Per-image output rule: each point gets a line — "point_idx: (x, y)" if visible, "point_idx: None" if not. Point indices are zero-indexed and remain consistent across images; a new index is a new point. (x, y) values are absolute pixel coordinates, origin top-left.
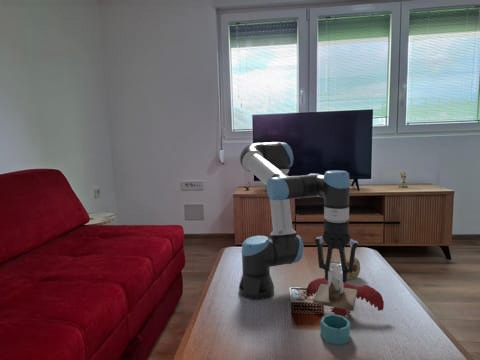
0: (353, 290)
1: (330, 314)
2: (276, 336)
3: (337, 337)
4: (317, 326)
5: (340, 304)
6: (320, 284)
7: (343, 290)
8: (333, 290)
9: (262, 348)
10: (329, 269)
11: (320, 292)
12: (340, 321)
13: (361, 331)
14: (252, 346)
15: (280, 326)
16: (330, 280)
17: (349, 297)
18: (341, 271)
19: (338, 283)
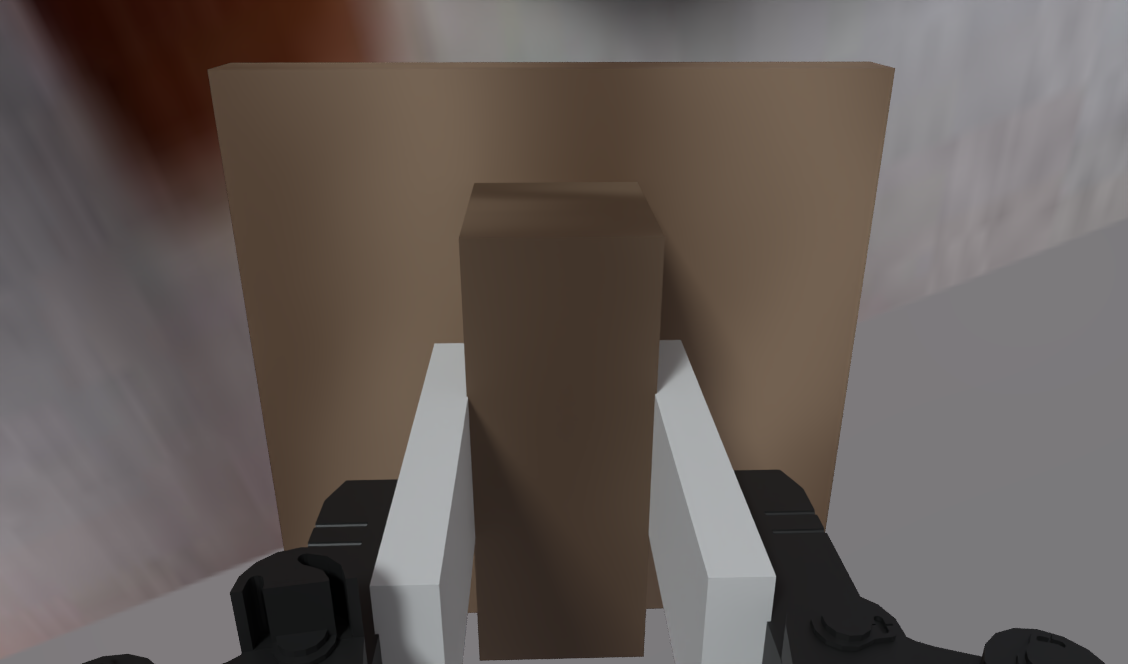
0: (829, 128)
1: None
2: (94, 396)
3: None
4: None
5: (658, 602)
6: (214, 106)
7: (659, 191)
8: (557, 644)
9: (85, 553)
10: (382, 633)
11: (320, 399)
12: None
13: (770, 21)
14: (8, 562)
15: (42, 251)
16: (468, 599)
17: (766, 392)
18: (720, 647)
19: (605, 421)
